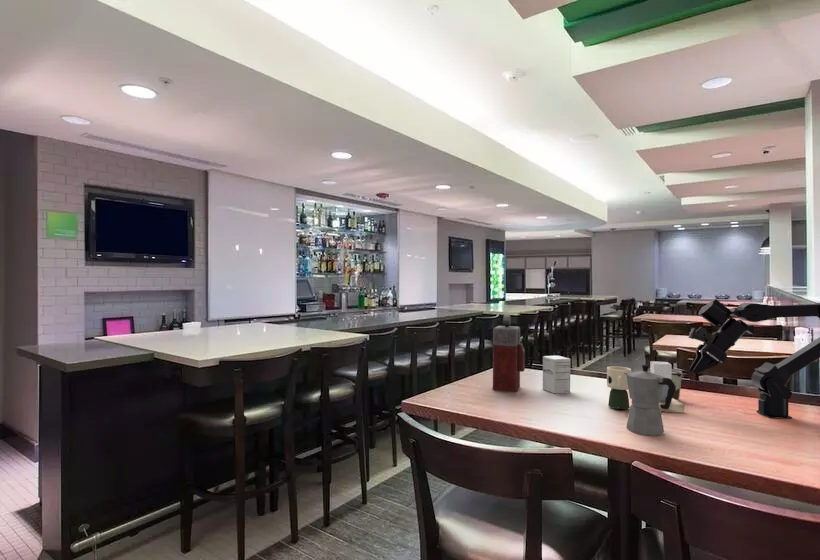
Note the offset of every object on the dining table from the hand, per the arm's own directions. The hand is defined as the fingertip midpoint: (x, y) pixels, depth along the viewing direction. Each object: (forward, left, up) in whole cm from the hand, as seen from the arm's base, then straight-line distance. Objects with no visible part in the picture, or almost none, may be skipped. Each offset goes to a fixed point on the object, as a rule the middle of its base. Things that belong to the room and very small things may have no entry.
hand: (692, 372), depth 147 cm
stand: (+9, -1, -12) cm, 15 cm away
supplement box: (+38, -20, -12) cm, 45 cm away
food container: (+3, -15, -12) cm, 20 cm away
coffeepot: (+23, +25, -12) cm, 36 cm away
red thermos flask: (+55, -21, -12) cm, 60 cm away
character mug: (+23, +2, -12) cm, 26 cm away
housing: (+9, -1, -9) cm, 13 cm away
